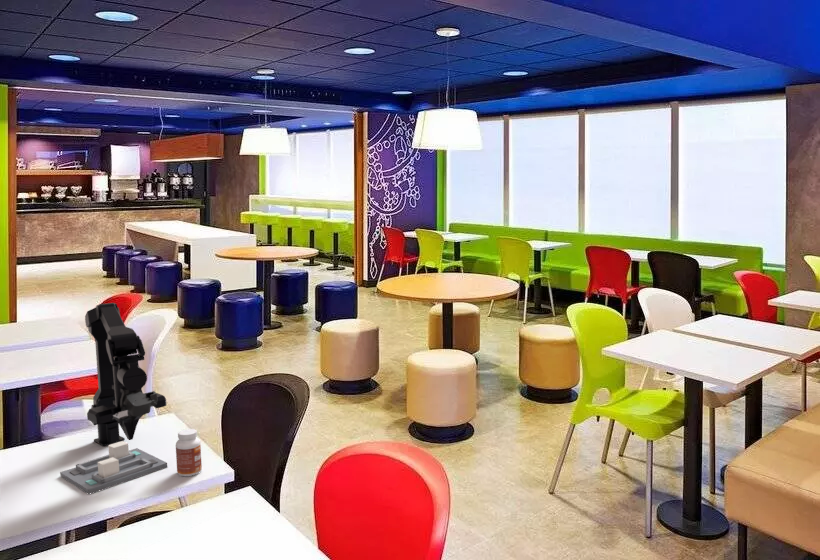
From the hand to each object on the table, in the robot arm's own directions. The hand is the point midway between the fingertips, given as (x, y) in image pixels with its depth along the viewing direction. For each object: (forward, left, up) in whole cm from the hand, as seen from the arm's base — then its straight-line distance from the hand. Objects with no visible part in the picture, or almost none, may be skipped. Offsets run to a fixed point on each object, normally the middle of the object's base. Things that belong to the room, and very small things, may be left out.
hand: (130, 439), depth 179 cm
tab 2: (0, -6, -8) cm, 10 cm away
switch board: (-5, -2, -9) cm, 11 cm away
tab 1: (-9, +1, -8) cm, 12 cm away
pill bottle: (+11, +10, -10) cm, 18 cm away
